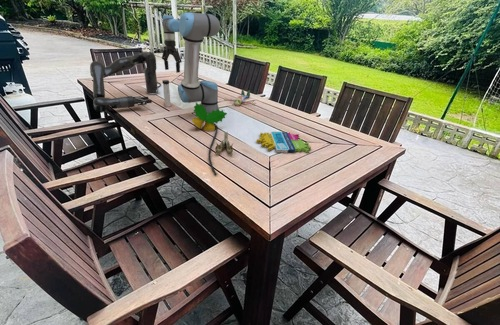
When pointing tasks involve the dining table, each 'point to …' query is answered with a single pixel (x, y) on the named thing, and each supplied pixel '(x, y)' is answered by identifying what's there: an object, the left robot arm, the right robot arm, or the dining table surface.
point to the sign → (283, 142)
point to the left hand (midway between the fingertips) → (150, 99)
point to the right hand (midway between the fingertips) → (172, 71)
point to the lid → (165, 81)
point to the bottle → (166, 94)
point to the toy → (241, 99)
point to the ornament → (207, 117)
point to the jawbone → (224, 145)
